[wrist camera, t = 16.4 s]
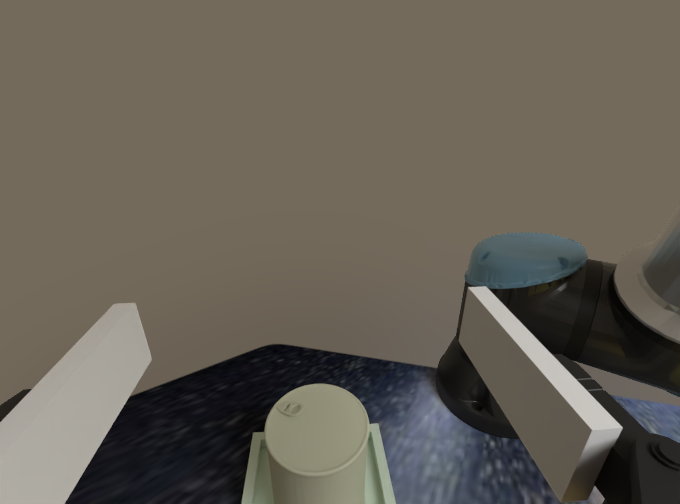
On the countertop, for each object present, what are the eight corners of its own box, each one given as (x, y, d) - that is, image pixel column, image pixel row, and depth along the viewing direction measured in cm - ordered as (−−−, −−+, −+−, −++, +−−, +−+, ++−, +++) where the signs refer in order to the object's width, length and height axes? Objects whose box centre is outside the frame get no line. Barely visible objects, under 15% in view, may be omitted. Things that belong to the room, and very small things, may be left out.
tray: (377, 434, 42) (378, 423, 41) (411, 595, 28) (413, 582, 27) (254, 444, 41) (253, 432, 40) (227, 616, 27) (224, 604, 26)
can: (304, 446, 40) (300, 367, 35) (378, 481, 36) (384, 399, 31) (254, 527, 32) (239, 441, 27) (341, 582, 28) (342, 493, 24)
